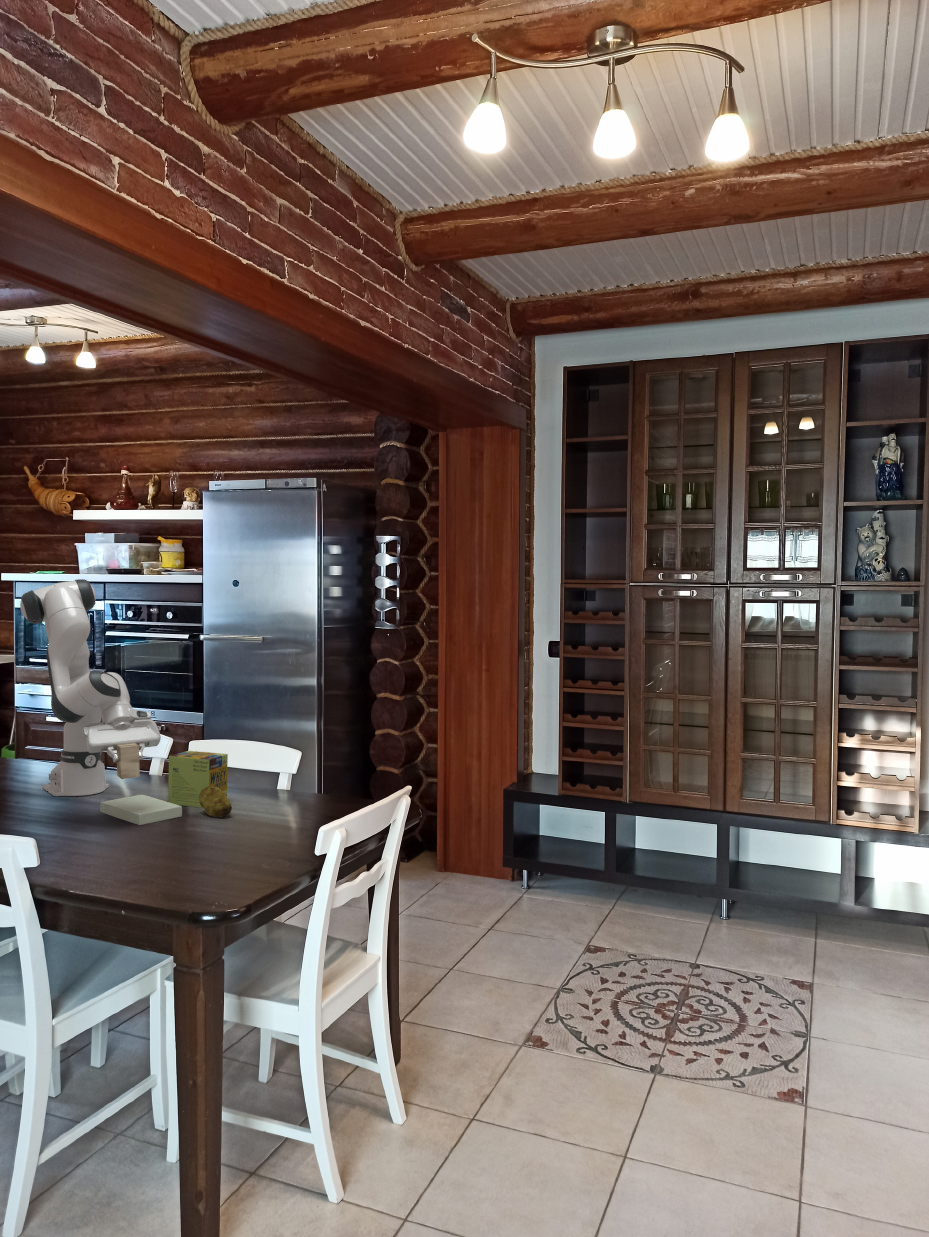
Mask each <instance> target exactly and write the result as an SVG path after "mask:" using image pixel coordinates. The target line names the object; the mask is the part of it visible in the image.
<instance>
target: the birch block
mask: <svg viewBox="0 0 929 1237" xmlns="http://www.w3.org/2000/svg"><path fill="white" fill-rule="evenodd" d="M116 747H117V750H116V754H119V757H120V761H119V762H116V777H118V778H119V779H121V780H125V779H132V778H140V760H139V752H140V750H139V745H137V744H135V743H133V744H123V745H116Z"/></svg>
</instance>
